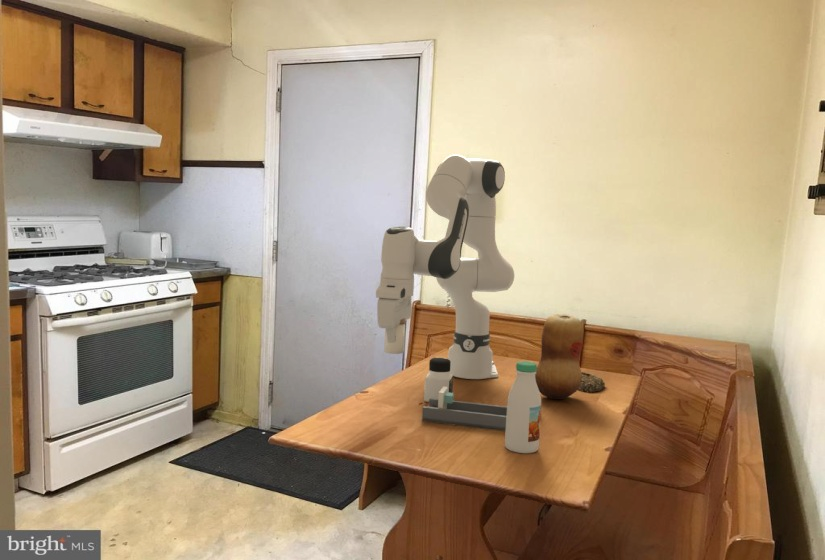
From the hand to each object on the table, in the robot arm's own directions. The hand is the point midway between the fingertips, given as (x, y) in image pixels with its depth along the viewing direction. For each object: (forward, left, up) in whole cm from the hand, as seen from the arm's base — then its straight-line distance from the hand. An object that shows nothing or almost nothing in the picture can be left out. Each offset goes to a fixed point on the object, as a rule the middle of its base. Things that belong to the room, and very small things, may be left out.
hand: (394, 340), depth 171 cm
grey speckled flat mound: (-47, +50, -20) cm, 72 cm away
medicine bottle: (-14, +10, -19) cm, 26 cm away
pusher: (+2, +15, -18) cm, 23 cm away
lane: (+2, +22, -19) cm, 29 cm away
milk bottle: (+17, +36, -19) cm, 44 cm away
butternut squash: (-29, +43, -19) cm, 55 cm away
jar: (0, 0, -3) cm, 3 cm away
